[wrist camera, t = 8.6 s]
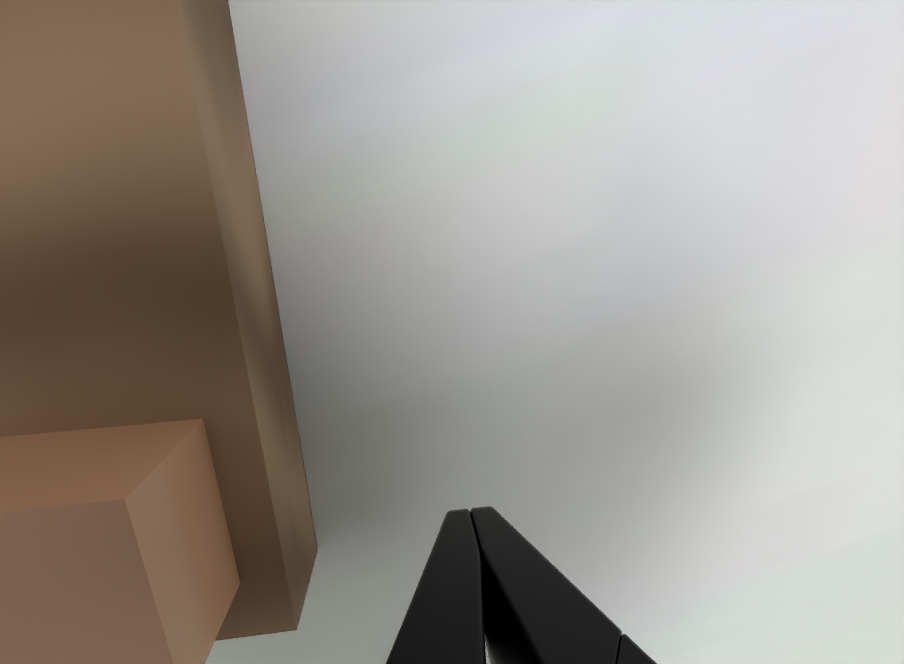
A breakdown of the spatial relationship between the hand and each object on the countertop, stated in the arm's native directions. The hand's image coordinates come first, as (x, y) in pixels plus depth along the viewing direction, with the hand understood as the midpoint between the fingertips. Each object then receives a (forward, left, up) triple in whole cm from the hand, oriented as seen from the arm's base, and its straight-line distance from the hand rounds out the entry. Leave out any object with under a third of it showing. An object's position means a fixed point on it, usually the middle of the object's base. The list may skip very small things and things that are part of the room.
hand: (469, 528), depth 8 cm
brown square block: (0, +7, -1) cm, 7 cm away
